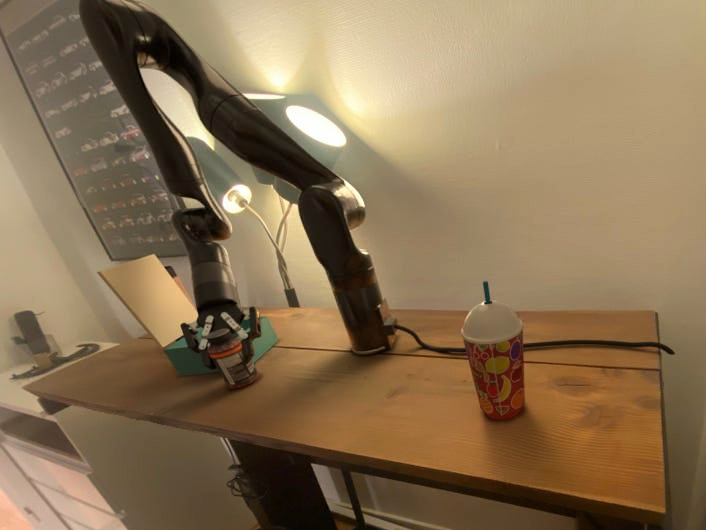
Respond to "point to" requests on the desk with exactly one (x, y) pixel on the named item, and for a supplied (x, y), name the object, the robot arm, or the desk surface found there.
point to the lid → (151, 297)
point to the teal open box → (192, 361)
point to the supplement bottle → (231, 359)
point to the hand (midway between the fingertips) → (230, 363)
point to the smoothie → (495, 356)
